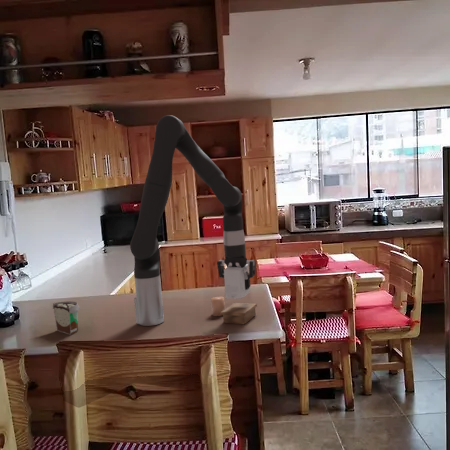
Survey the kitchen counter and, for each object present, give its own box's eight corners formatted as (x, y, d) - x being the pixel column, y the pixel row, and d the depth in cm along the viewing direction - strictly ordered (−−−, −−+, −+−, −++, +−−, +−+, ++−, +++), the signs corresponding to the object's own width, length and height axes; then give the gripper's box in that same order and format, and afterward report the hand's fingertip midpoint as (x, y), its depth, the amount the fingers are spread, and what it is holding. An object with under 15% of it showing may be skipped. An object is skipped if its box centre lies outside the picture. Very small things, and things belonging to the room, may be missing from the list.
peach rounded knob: (210, 316, 181) (209, 300, 180) (215, 311, 186) (213, 296, 185) (223, 316, 179) (221, 300, 179) (227, 311, 184) (225, 296, 183)
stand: (221, 323, 171) (221, 312, 171) (234, 313, 182) (233, 302, 182) (245, 324, 168) (244, 313, 167) (257, 314, 179) (256, 303, 178)
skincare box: (242, 299, 168) (240, 269, 167) (225, 298, 170) (222, 269, 169) (251, 291, 178) (249, 263, 177) (234, 291, 180) (232, 263, 179)
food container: (88, 330, 174) (85, 303, 173) (73, 335, 169) (70, 307, 168) (70, 325, 182) (67, 299, 181) (55, 330, 177) (52, 303, 176)
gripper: (257, 240, 173) (260, 286, 174) (220, 241, 178) (223, 286, 180) (249, 244, 166) (253, 292, 168) (211, 244, 172) (215, 291, 173)
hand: (237, 288), depth 174 cm, fingers closed on skincare box, 6 cm apart
